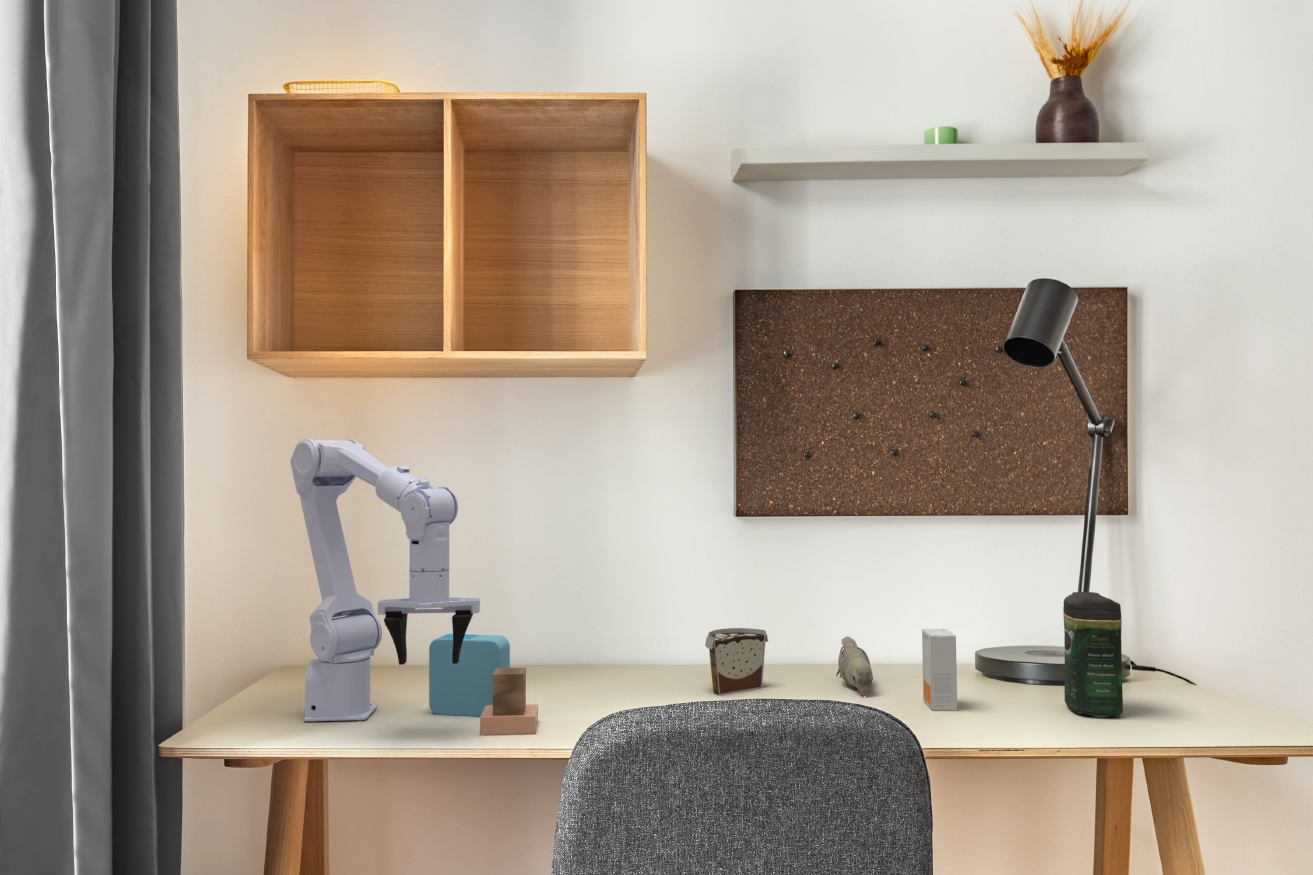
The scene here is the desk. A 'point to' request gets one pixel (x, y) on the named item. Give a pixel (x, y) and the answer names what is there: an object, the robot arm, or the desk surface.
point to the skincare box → (939, 669)
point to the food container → (736, 659)
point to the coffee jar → (1093, 654)
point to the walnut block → (509, 691)
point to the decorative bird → (855, 666)
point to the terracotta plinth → (509, 722)
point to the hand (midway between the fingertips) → (429, 662)
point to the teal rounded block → (465, 673)
